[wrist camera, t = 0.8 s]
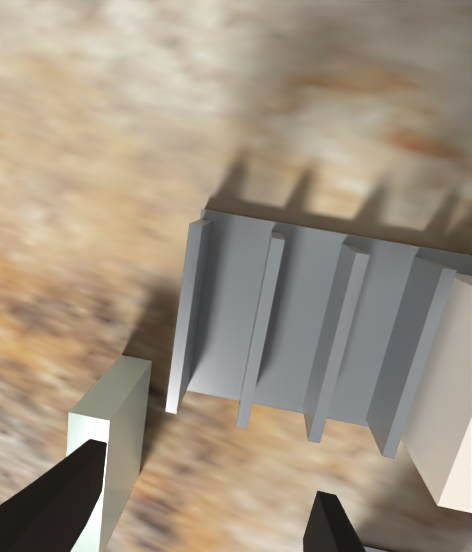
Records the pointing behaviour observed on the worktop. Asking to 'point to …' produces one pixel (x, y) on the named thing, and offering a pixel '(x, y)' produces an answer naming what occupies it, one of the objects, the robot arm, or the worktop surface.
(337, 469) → the worktop surface
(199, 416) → the worktop surface
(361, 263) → the dish rack
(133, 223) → the worktop surface
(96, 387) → the celadon plate
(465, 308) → the white rectangular block
